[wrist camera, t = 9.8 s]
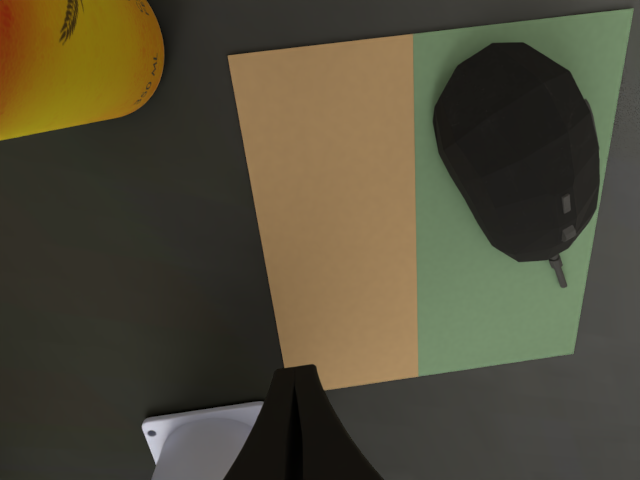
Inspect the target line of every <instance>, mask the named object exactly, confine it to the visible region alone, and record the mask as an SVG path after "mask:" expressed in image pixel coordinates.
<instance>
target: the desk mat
mask: <svg viewBox="0 0 640 480" xmlns="http://www.w3.org/2000/svg"><path fill="white" fill-rule="evenodd" d="M633 10H634V8H632V9H623V10H614V11H606V12H597V13H589V14H580V15H571V16H563V17H554V18H546V19H537V20H528V21H520V22H511V23H502V24H494V25H485V26H477V27H468V28H459V29H451V30H442V31H434V32H425V33H416V34H408V35H399V36H391V37H382V38H373V39H365V40H356V41H347V42H339V43H330V44H322V45H313V46H304V47H296V48H287V49H279V50H270V51H261V52H253V53H244V54H235V55H228V61H229V67H230V72H231V78H232V83H233V89H234V94H235V100H236V105H237V111H238V116H239V122H240V127H241V132H242V138H243V143H244V149H245V154H246V160H247V165H248V171H249V176H250V182H251V187H252V193H253V198H254V204H255V209H256V215H257V220H258V226H259V231H260V236H261V242H262V247H263V253H264V258H265V264H266V269H267V275H268V280H269V286H270V291H271V297H272V302H273V308H274V313H275V319H276V324H277V330H278V335H279V340H280V346H281V351H282V357H283V362H284V368H288V367H295V366H302V365H309V364H314V365H315V366H316V367H317V372H318V376H319V379H320V382H321V384H322V387H323V389H324V390H330V389H336V388H343V387H350V386H357V385H364V384H370V383H377V382H384V381H391V380H397V379H404V378H411V377H418V376H425V375H431V374H438V373H445V372H452V371H459V370H465V369H472V368H479V367H486V366H492V365H499V364H506V363H513V362H520V361H526V360H533V359H540V358H547V357H553V356H560V355H567V354H573V353H574V348H575V342H576V336H577V330H578V325H579V319H580V313H581V308H582V302H583V296H584V290H585V285H586V279H587V273H588V267H589V262H590V256H591V250H592V245H593V239H594V233H595V227H596V222H597V216H598V210H599V204H600V199H601V193H602V187H603V182H604V176H605V170H606V164H607V159H608V153H609V147H610V141H611V136H612V130H613V124H614V119H615V113H616V107H617V101H618V96H619V90H620V84H621V78H622V73H623V67H624V61H625V55H626V50H627V44H628V38H629V33H630V27H631V21H632V15H633ZM504 42H524V43H526V44H527V45H529V46H531V47H533V48H534V49H536V50H537V51H539V52H541V53H542V54H544V55H545V56H547V57H548V58H550V59H552V60H553V61H555V62H556V63H558V64H560V65H561V66H563V67H564V68H566V69H568V70H569V71H570V72H571V74H572V76H573V78H574V80H575V82H576V84H577V86H578V88H579V90H580V92H581V94H582V96H583V98H584V99H587V101H588V102H589V104H590V107H591V110H592V113H593V116H594V122H595V127H596V132H597V138H598V143H599V148H600V150H599V158H600V186H599V194H598V202H597V209H596V211H595V213H594V215H593V217H592V218H591V220H590V222H589V223H588V225H587V226H586V227H585V228H584V230H583V231H582V232H581V233H580V235H579V236H578V237H577V238H576V240H575V241H574V242H573V243H572V245H571V246H570V247H569V248H568V249H567V250H565V251H563V252H561V253H559V255H560V258H561V261H562V264H563V266H562V267H561V268H562V271H563V274H564V277H565V280H566V283H567V287H566V288H561V287H560V284H559V281H558V278H557V276H556V273H555V270H554V269H553V268H551V265H550V263H549V260H545V261H531V262H517V261H516V260H514V259H513V258H511V257H509V256H508V255H506V254H504V253H503V252H501V251H499V250H498V249H496V248H494V247H493V246H492V245H491V244H490V242H489V240H488V239H487V237H486V236H485V234H484V233H483V231H482V230H481V228H480V226H479V225H478V223H477V221H476V220H475V218H474V216H473V214H472V212H471V210H470V209H469V207H468V205H467V203H466V201H465V199H464V198H463V196H462V194H461V193H460V191H459V189H458V188H457V186H456V185H455V183H454V181H453V180H452V178H451V176H450V175H449V173H448V171H447V169H446V167H445V165H444V163H443V161H442V159H441V157H440V155H439V153H438V148H437V143H436V137H435V132H434V127H433V115H434V107H435V105H436V103H437V101H438V99H439V97H440V95H441V93H442V92H443V90H444V88H445V86H446V84H447V83H448V81H449V79H450V77H451V76H452V74H453V72H454V70H455V69H456V67H457V65H459V64H460V63H462V62H463V61H465V60H467V59H468V58H470V57H471V56H473V55H474V54H476V53H477V52H479V51H481V50H482V49H484V48H485V47H487V46H488V45H490V44H491V43H504Z"/></svg>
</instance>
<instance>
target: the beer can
mask: <svg viewBox="0 0 640 480" xmlns="http://www.w3.org/2000/svg"><path fill="white" fill-rule="evenodd" d="M163 66H164V44H163V38H162V34H161V30H160V27H159V24H158V21H157V19H156V17H155V14H154V12H153V10H152V9H151V7H150V5H149V4H148V2H147V0H0V140H5V139H10V138H15V137H21V136H26V135H31V134H36V133H41V132H46V131H51V130H57V129H62V128H67V127H72V126H77V125H82V124H87V123H93V122H98V121H103V120H108V119H113V118H118V117H122V116H125V115H128V114H130V113H132V112H134V111H136V110H137V109H139V108H140V107H141V106H143V105H144V104H145V103H146V102H147V101H148V100H149V99H150V97H151V96H152V95H153V93H154V92H155V90H156V88H157V86H158V84H159V82H160V79H161V76H162V72H163Z"/></svg>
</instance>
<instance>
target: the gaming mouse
mask: <svg viewBox="0 0 640 480" xmlns="http://www.w3.org/2000/svg"><path fill="white" fill-rule="evenodd" d="M433 127H434V132H435V137H436V143H437V148H438V153H439V155H440V157H441V159H442V161H443V163H444V165H445V167H446V169H447V171H448V173H449V175H450V176H451V178H452V180H453V181H454V183H455V185H456V186H457V188H458V189H459V191H460V193H461V194H462V196H463V198H464V199H465V201H466V203H467V205H468V207H469V209H470V210H471V212H472V214H473V216H474V218H475V220H476V221H477V223H478V225H479V226H480V228H481V230H482V231H483V233H484V234H485V236H486V237H487V239H488V240H489V242H490V244H491V245H492V246H493V247H494V248H496V249H498V250H499V251H501V252H503V253H504V254H506V255H508V256H509V257H511V258H513V259H514V260H516V261H517V262H531V261H545V260H549V263H550V265H551V268H553V269H554V270H555V273H556V276H557V278H558V281H559V284H560V287H561V288H566V287H567V283H566V280H565V277H564V274H563V271H562V268H561V267H562V266H563V264H562V261H561V258H560V255H559V253H561V252H563V251H565V250H567V249H568V248H569V247H570V246H571V245H572V243H573V242H574V241H575V240H576V238H577V237H578V236H579V235H580V233H581V232H582V231H583V230H584V228H585V227H586V226H587V225H588V223H589V222H590V220H591V218H592V217H593V215H594V213H595V211H596V209H597V202H598V194H599V186H600V158H599V150H600V148H599V143H598V138H597V132H596V127H595V122H594V116H593V113H592V110H591V107H590V104H589V102H588V101H587V99H584V98H583V96H582V94H581V92H580V90H579V88H578V86H577V84H576V82H575V80H574V78H573V76H572V74H571V72H570V71H569V70H568V69H566V68H564V67H563V66H561V65H560V64H558V63H556V62H555V61H553V60H552V59H550V58H548V57H547V56H545V55H544V54H542V53H541V52H539V51H537V50H536V49H534V48H533V47H531V46H529V45H527V44H526V43H524V42H504V43H491V44H490V45H488V46H487V47H485V48H484V49H482V50H481V51H479V52H477V53H476V54H474V55H473V56H471V57H470V58H468V59H467V60H465V61H463V62H462V63H460V64H459V65H457V67H456V69H455V70H454V72H453V74H452V76H451V77H450V79H449V81H448V83H447V84H446V86H445V88H444V90H443V92H442V93H441V95H440V97H439V99H438V101H437V103H436V105H435V107H434V115H433Z"/></svg>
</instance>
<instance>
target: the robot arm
mask: <svg viewBox="0 0 640 480" xmlns="http://www.w3.org/2000/svg"><path fill="white" fill-rule="evenodd" d="M142 430H143V432H144V435H145V437H146V440H147V443H148V445H149V448H150V450H151V453H152V455H153V458H154V461H155V463H156V468H155V471H154V474H153V476H152V479H151V480H384V479H383V478H382V477H381V476H380V475H379V473H378V472H377V471H376V470H375V469H374V468H373V467H372V465H371V464H370V463H369V462H368V460H367V459H366V458H365V456H364V455H363V454H362V453H361V451H360V450H359V449H358V447H357V446H356V444H355V443H354V442H353V440H352V439H351V437H350V436H349V434H348V433H347V431H346V430H345V428H344V426H343V425H342V423H341V422H340V420H339V418H338V416H337V415H336V413H335V411H334V409H333V407H332V405H331V404H330V402H329V400H328V398H327V396H326V394H325V391H324V389H323V387H322V384H321V382H320V379H319V376H318V372H317V367H316V366H315V365H314V364H309V365H302V366H295V367H288V368H281V369H277V370H276V371H275V372H274V375H273V378H272V382H271V385H270V388H269V391H268V393H267V396H266V398H265V401H264V402H262V401H257V402H250V403H243V404H237V405H230V406H223V407H216V408H210V409H203V410H196V411H189V412H183V413H176V414H169V415H162V416H155V417H149V418H146V419H145V420H144V422H143V424H142ZM151 430H153V431H151Z"/></svg>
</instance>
